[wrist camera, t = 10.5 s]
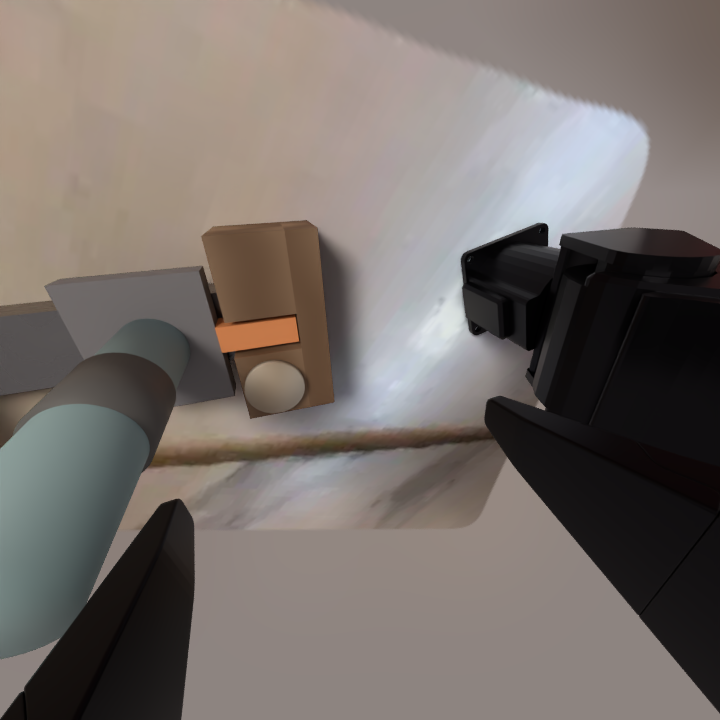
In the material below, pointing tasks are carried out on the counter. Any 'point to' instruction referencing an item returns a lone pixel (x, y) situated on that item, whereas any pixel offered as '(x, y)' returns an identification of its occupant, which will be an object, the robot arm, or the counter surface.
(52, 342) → the track
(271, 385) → the end cabinet
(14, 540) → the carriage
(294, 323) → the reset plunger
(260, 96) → the counter surface
